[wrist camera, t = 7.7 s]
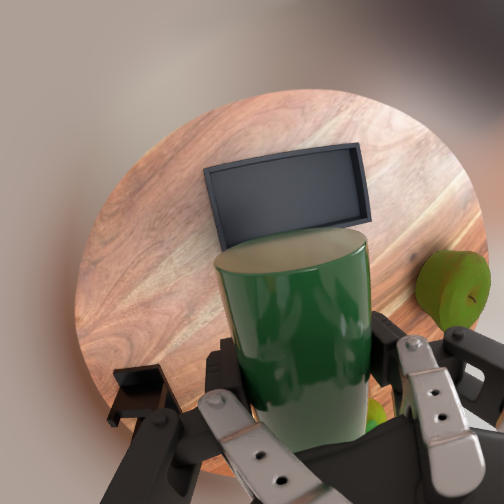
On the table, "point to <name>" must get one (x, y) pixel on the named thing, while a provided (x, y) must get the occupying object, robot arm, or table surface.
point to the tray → (288, 193)
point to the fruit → (374, 415)
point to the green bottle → (302, 331)
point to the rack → (141, 394)
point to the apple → (453, 287)
